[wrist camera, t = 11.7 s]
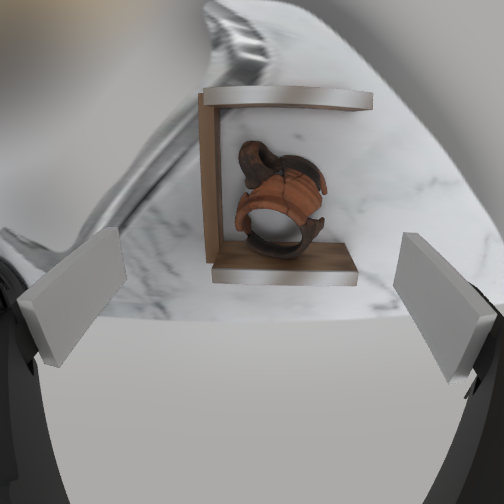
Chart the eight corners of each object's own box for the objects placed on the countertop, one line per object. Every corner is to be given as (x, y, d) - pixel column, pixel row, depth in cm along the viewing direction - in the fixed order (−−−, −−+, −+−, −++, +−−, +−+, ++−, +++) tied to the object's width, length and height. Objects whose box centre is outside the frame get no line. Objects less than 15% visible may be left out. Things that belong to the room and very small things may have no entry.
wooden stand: (211, 252, 37) (197, 282, 30) (205, 95, 30) (186, 89, 23) (343, 255, 36) (356, 286, 29) (352, 97, 28) (372, 92, 22)
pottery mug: (346, 200, 33) (337, 254, 28) (278, 223, 39) (259, 273, 34) (287, 109, 27) (263, 147, 22) (219, 148, 33) (184, 190, 28)
